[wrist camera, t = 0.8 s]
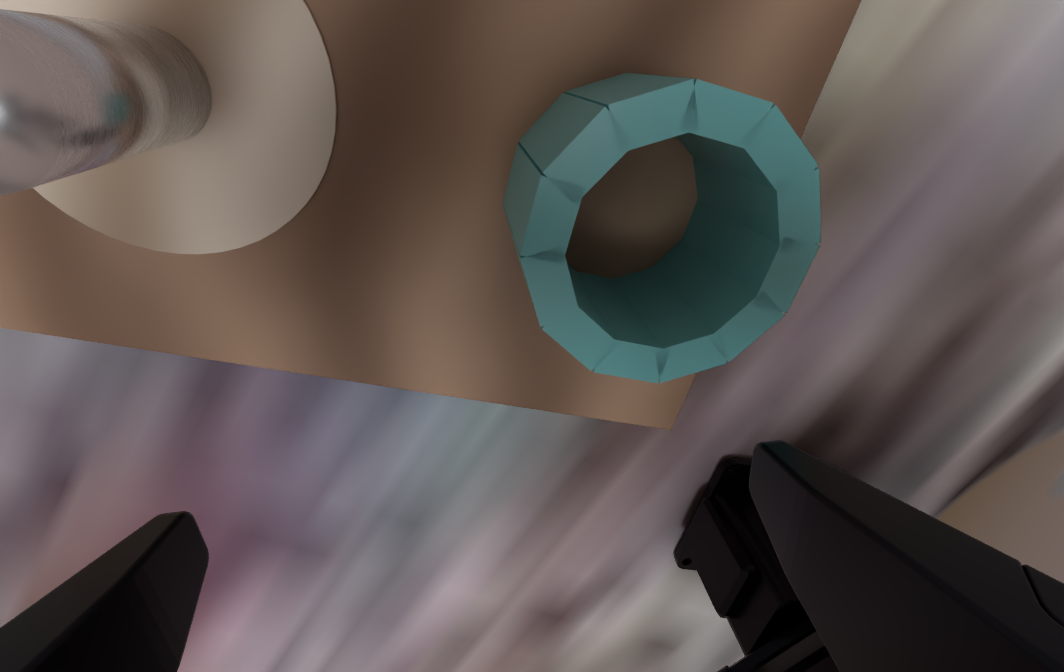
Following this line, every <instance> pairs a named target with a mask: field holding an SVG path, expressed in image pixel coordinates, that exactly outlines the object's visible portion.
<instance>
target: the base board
mask: <svg viewBox="0 0 1064 672" xmlns="http://www.w3.org/2000/svg"><path fill="white" fill-rule="evenodd" d="M860 2H861V0H0V9H4V10H13V11H23V12H32V13H42V14H51V15H60V16H70V17H79V18H88V19H98V20H107V21H117V22H126V23H135V24H144V25H149V26H153V27H156V28H159V29H161V30H163V31H165V32H168V33H169V34H171V35H173V36H174V37H176V38H177V39H178V40H180V41H181V42H182V43H183V44H185V45H186V46H187V47H188V48H189V49H190V50H191V51H192V53H193V54H194V55H195V56H196V58H197V59H198V60H199V62H200V63H201V65H202V67H203V68H204V70H205V73H206V75H207V77H208V80H209V83H210V87H211V93H212V106H211V112H210V115H209V118H208V120H207V122H206V124H205V125H204V127H203V128H202V129H201V130H200V132H198V133H197V134H196V135H195V136H193V137H191V138H190V139H187V140H185V141H182V142H179V143H176V144H172V145H169V146H166V147H163V148H159V149H156V150H153V151H150V152H146V153H143V154H140V155H137V156H133V157H130V158H127V159H124V160H120V161H117V162H114V163H111V164H107V165H104V166H101V167H98V168H95V169H91V170H88V171H85V172H82V173H78V174H75V175H72V176H69V177H65V178H62V179H59V180H56V181H52V182H49V183H46V184H43V185H39V186H36V187H33V188H30V189H26V190H23V191H20V192H16V193H11V194H5V195H0V328H7V329H13V330H20V331H26V332H33V333H40V334H46V335H53V336H59V337H66V338H72V339H79V340H85V341H92V342H98V343H105V344H112V345H118V346H125V347H131V348H138V349H144V350H151V351H157V352H164V353H170V354H177V355H184V356H190V357H197V358H203V359H210V360H216V361H223V362H229V363H236V364H242V365H249V366H256V367H262V368H269V369H275V370H282V371H288V372H295V373H301V374H308V375H314V376H321V377H328V378H334V379H341V380H347V381H354V382H360V383H367V384H373V385H380V386H386V387H393V388H400V389H406V390H413V391H419V392H426V393H432V394H439V395H445V396H452V397H458V398H465V399H472V400H478V401H485V402H491V403H498V404H504V405H511V406H517V407H524V408H530V409H537V410H544V411H550V412H557V413H563V414H570V415H576V416H583V417H589V418H596V419H602V420H609V421H616V422H622V423H629V424H635V425H642V426H648V427H655V428H661V429H668V430H672V427H673V425H674V423H675V421H676V418H677V416H678V414H679V412H680V409H681V407H682V405H683V403H684V400H685V398H686V396H687V394H688V391H689V389H690V387H691V385H692V382H693V380H694V378H695V375H696V373H693V374H690V375H686V376H683V377H680V378H676V379H673V380H670V381H666V382H663V383H660V382H659V381H658V383H652V382H646V381H641V380H635V379H629V378H623V377H617V376H612V375H606V374H600V373H594V372H593V370H592V371H590V370H589V369H588V368H587V367H585V366H584V365H583V364H582V363H581V362H580V361H578V360H577V359H576V358H575V357H574V356H573V355H571V354H570V353H569V352H568V351H567V350H566V349H564V348H563V347H562V346H561V345H560V344H559V343H557V342H556V341H555V340H554V339H553V338H552V337H550V336H549V335H548V334H547V333H546V332H545V331H543V330H542V328H541V327H540V325H539V321H538V318H537V315H536V312H535V309H534V306H533V303H532V299H531V296H530V293H529V290H528V287H527V284H526V280H525V277H524V274H523V271H522V268H521V265H520V262H519V258H518V255H517V252H516V248H515V245H514V241H513V238H512V235H511V231H510V228H509V224H508V221H507V218H506V214H505V211H504V208H503V206H504V205H503V201H504V197H505V192H506V188H507V184H508V180H509V176H510V172H511V167H512V163H513V159H514V155H515V151H516V146H517V143H519V144H521V143H520V142H519V140H520V139H521V138H522V137H523V135H524V134H525V133H526V132H527V131H528V130H529V129H530V128H531V127H532V126H533V125H534V123H535V122H536V121H537V120H538V119H539V118H540V117H541V116H542V115H543V114H544V113H545V111H546V110H547V109H548V108H549V107H550V106H551V105H552V104H553V103H554V102H555V101H556V99H557V98H558V97H559V96H560V95H561V94H562V93H565V91H568V90H571V89H574V88H578V87H581V86H584V85H587V84H591V83H594V82H597V81H601V80H604V79H607V78H610V77H614V76H617V75H620V74H624V73H636V74H648V75H659V76H670V77H682V78H693V79H699V80H702V81H705V82H709V83H712V84H715V85H718V86H721V87H725V88H728V89H731V90H734V91H737V92H741V93H744V94H747V95H750V96H753V97H757V98H760V99H763V100H766V101H769V102H773V104H775V105H777V107H778V108H779V110H780V111H781V113H782V114H783V115H784V117H785V118H786V120H787V121H788V123H789V124H790V126H791V127H792V128H793V130H794V131H795V133H796V134H797V136H798V137H799V138H801V136H802V133H803V131H804V129H805V127H806V124H807V122H808V120H809V118H810V115H811V113H812V111H813V109H814V106H815V104H816V102H817V100H818V97H819V95H820V93H821V90H822V88H823V86H824V84H825V81H826V79H827V77H828V75H829V72H830V70H831V68H832V66H833V63H834V61H835V59H836V57H837V54H838V52H839V50H840V48H841V45H842V43H843V41H844V38H845V36H846V34H847V32H848V29H849V27H850V25H851V23H852V20H853V18H854V16H855V14H856V11H857V9H858V7H859V5H860ZM697 199H698V195H697V187H696V179H695V171H694V163H693V156H692V155H691V154H690V152H689V151H688V150H687V149H686V148H685V146H684V145H683V144H682V143H681V141H680V140H679V139H678V138H677V137H676V136H675V137H672V138H669V139H665V140H662V141H659V142H655V143H652V144H649V145H645V146H642V147H639V148H635V149H632V150H629V151H627V152H626V153H625V154H624V155H623V156H622V157H621V158H620V159H619V160H618V161H617V162H616V163H615V164H614V165H613V166H612V167H611V168H610V169H609V171H608V172H607V173H606V174H605V175H604V176H603V177H602V178H601V179H600V180H599V181H598V182H597V183H596V184H595V185H594V186H593V187H592V188H591V189H590V190H589V191H588V192H587V193H586V194H585V195H584V196H583V197H582V199H581V203H580V206H579V210H578V213H577V216H576V220H575V223H574V226H573V230H572V233H571V236H570V240H569V243H568V246H567V250H566V253H565V257H566V261H567V263H568V264H569V265H570V266H571V267H572V268H573V269H574V270H575V271H579V272H584V273H589V274H593V275H598V276H603V277H607V278H612V279H614V278H617V277H621V276H624V275H627V274H631V273H634V272H637V271H641V270H644V269H647V268H651V267H652V266H653V265H655V264H656V263H657V262H658V261H659V260H660V259H661V258H662V257H663V256H664V255H665V254H666V253H667V252H668V251H670V250H671V249H672V248H673V247H674V246H675V245H676V244H677V243H678V242H679V241H680V240H681V239H682V238H683V236H684V233H685V231H686V228H687V225H688V223H689V220H690V218H691V215H692V212H693V210H694V207H695V205H696V202H697Z"/></svg>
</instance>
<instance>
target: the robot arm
mask: <svg viewBox="0 0 1064 672" xmlns="http://www.w3.org/2000/svg"><path fill="white" fill-rule="evenodd" d="M732 468H733V470H731V471H729V470H730V469H732ZM674 558H675V561H676V563H677V566H678V567H679V568H681V569H688V570H697V572H698V574H699V576H700V578H701V580H702V582H703V584H704V587H705V589H706V591H707V593H708V595H709V597H710V599H711V601H712V604H713V606H714V608H715V610H716V612H717V613H718V615H719V616H720V617H722V618H727V620H728V622H729V624H730V626H731V628H732V630H733V632H734V634H735V636H736V638H737V640H738V642H739V644H740V647H741V649H742V651H743V653H744V655H745V657H743V658H742V659H740V660H739V661H737V662H736V663H734V664H733V665H731V666H730V667H729V666H727V665H726V666H725V667H723V668H722V669H720V670H719V671H717V672H1064V583H1062V582H1060V581H1058V580H1056V579H1054V578H1052V577H1050V576H1048V575H1046V574H1044V573H1042V572H1040V571H1038V570H1036V569H1034V568H1032V567H1030V566H1028V565H1021V563H1020V562H1019V561H1018V560H1016V559H1014V558H1012V557H1010V556H1008V555H1006V554H1004V553H1002V552H1000V551H998V550H996V549H994V548H993V547H991V546H989V545H987V544H985V543H983V542H981V541H979V540H977V539H975V538H973V537H971V536H969V535H967V534H965V533H963V532H961V531H959V530H957V529H955V528H953V527H951V526H949V525H947V524H945V523H943V522H941V521H939V520H938V519H936V518H934V517H932V516H930V515H928V514H926V513H924V512H922V511H920V510H918V509H916V508H914V507H912V506H910V505H908V504H906V503H904V502H902V501H900V500H898V499H896V498H894V497H892V496H890V495H888V494H886V493H884V492H882V491H880V490H879V489H877V488H875V487H873V486H871V485H869V484H867V483H865V482H863V481H861V480H859V479H857V478H855V477H853V476H851V475H849V474H847V473H845V472H843V471H841V470H839V469H837V468H835V467H833V466H831V465H829V464H827V463H825V462H823V461H821V460H820V459H818V458H816V457H814V456H812V455H810V454H808V453H806V452H804V451H802V450H800V449H798V448H796V447H794V446H792V445H790V444H788V443H786V442H784V441H780V440H777V441H768V442H760V443H758V444H757V445H756V446H755V448H754V451H753V458H752V460H746V459H739V458H728V459H725V460H724V461H722V462H721V464H720V465H719V467H718V469H717V471H716V473H715V475H714V477H713V479H712V481H711V483H710V485H709V487H708V489H707V491H706V493H705V495H704V497H703V499H702V501H701V503H700V505H699V507H698V509H697V511H696V513H695V515H694V517H693V519H692V521H691V523H690V525H689V527H688V529H687V531H686V533H685V535H684V537H683V539H682V541H681V543H680V545H679V547H678V549H677V551H676V553H675V555H674ZM208 561H209V553H208V549H207V546H206V543H205V541H204V539H203V537H202V534H201V532H200V530H199V527H198V525H197V523H196V521H195V518H194V517H193V515H192V514H191V513H189V512H186V511H180V512H172V513H164V514H160V515H158V516H156V517H154V518H153V519H152V520H150V521H149V522H147V523H146V524H145V525H143V526H142V527H140V528H139V529H138V530H136V531H135V532H133V533H132V534H131V535H129V536H128V537H127V538H125V539H124V540H122V541H121V542H120V543H118V544H117V545H115V546H114V547H113V548H111V549H110V550H108V551H107V552H106V553H104V554H103V555H101V556H100V557H99V558H97V559H96V560H94V561H93V562H92V563H90V564H89V565H87V566H86V567H85V568H83V569H82V570H80V571H79V572H78V573H76V574H75V575H73V576H72V577H71V578H69V579H68V580H66V581H65V582H64V583H62V584H61V585H60V586H58V587H57V588H55V589H54V590H53V591H51V592H50V593H48V594H47V595H46V596H44V597H43V598H41V599H40V600H39V601H37V602H36V603H34V604H33V605H32V606H30V607H29V608H27V609H26V610H25V611H23V612H22V613H20V614H19V615H18V616H16V617H15V618H13V619H12V620H11V621H9V622H8V623H6V624H5V625H4V626H2V627H1V628H0V672H177V670H178V668H179V665H180V662H181V659H182V655H183V652H184V649H185V646H186V642H187V638H188V635H189V631H190V628H191V624H192V621H193V617H194V613H195V610H196V606H197V603H198V599H199V595H200V592H201V588H202V585H203V581H204V578H205V574H206V570H207V567H208Z"/></svg>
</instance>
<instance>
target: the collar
mask: <svg viewBox="0 0 1064 672" xmlns="http://www.w3.org/2000/svg"><path fill="white" fill-rule="evenodd" d="M675 136H676V137H677V138H678V139H679V140H680V141H681V143H682V144H683V145H684V146H685V148H686V149H687V150H688V151H689V152H690V154H691V155H692V156H693V163H694V171H695V179H696V187H697V195H698V199H697V202H696V205H695V207H694V210H693V212H692V215H691V218H690V220H689V223H688V225H687V228H686V231H685V233H684V236H683V238H682V239H681V240H680V241H679V242H678V243H677V244H676V245H675V246H674V247H673V248H672V249H671V250H670V251H668V252H667V253H666V254H665V255H664V256H663V257H662V258H661V259H660V260H659V261H658V262H657V263H656V264H655V265H653V266H652V267H651V268H647V269H644V270H641V271H637V272H634V273H631V274H627V275H624V276H621V277H617V278H614V279H612V278H607V277H603V276H598V275H593V274H589V273H584V272H579V271H575V270H574V269H573V268H572V267H571V266H570V265H569V264H568V263H567V261H566V257H565V253H566V250H567V246H568V243H569V240H570V236H571V233H572V230H573V226H574V223H575V220H576V216H577V213H578V210H579V206H580V203H581V199H582V197H583V196H584V195H585V194H586V193H587V192H588V191H589V190H590V189H591V188H592V187H593V186H594V185H595V184H596V183H597V182H598V181H599V180H600V179H601V178H602V177H603V176H604V175H605V174H606V173H607V172H608V171H609V169H610V168H611V167H612V166H613V165H614V164H615V163H616V162H617V161H618V160H619V159H620V158H621V157H622V156H623V155H624V154H625V153H626V152H627V151H629V150H632V149H635V148H639V147H642V146H645V145H649V144H652V143H655V142H659V141H662V140H665V139H669V138H672V137H675ZM519 142H520V143H521V144H519V143H517V146H516V151H515V155H514V159H513V163H512V167H511V172H510V176H509V180H508V184H507V188H506V192H505V197H504V201H503V205H504V206H503V208H504V211H505V214H506V218H507V221H508V224H509V228H510V231H511V235H512V238H513V241H514V245H515V248H516V252H517V255H518V258H519V262H520V265H521V268H522V271H523V274H524V277H525V280H526V284H527V287H528V290H529V293H530V296H531V299H532V303H533V306H534V309H535V312H536V315H537V318H538V321H539V325H540V327H541V328H542V330H543V331H545V332H546V333H547V334H548V335H549V336H550V337H552V338H553V339H554V340H555V341H556V342H557V343H559V344H560V345H561V346H562V347H563V348H564V349H566V350H567V351H568V352H569V353H570V354H571V355H573V356H574V357H575V358H576V359H577V360H578V361H580V362H581V363H582V364H583V365H584V366H585V367H587V368H588V369H589V370H590V371H592V370H593V372H594V373H600V374H606V375H612V376H617V377H623V378H629V379H635V380H641V381H646V382H652V383H658V381H659V382H660V383H663V382H666V381H670V380H673V379H676V378H680V377H683V376H686V375H690V374H693V373H697V372H700V371H703V370H707V369H710V368H713V367H717V366H720V365H723V364H727V363H726V360H727V361H728V362H730V361H731V360H732V359H733V358H735V357H736V356H737V355H738V354H739V353H741V352H742V351H743V350H744V349H745V348H747V347H748V346H749V345H750V344H751V343H753V342H754V341H755V340H756V339H757V338H758V337H760V336H761V335H762V334H763V333H764V332H766V331H767V330H768V329H769V328H770V327H772V326H773V325H774V324H775V323H776V322H778V321H779V320H780V319H781V318H782V317H783V316H785V315H784V314H783V312H785V313H787V311H788V309H789V307H790V305H791V303H792V301H793V299H794V297H795V295H796V293H797V291H798V289H799V287H800V285H801V283H802V281H803V279H804V277H805V275H806V273H807V271H808V269H809V267H810V265H811V263H812V261H813V259H814V257H815V255H816V253H817V251H818V249H819V247H820V245H818V243H821V232H820V177H819V168H816V167H817V166H818V164H817V163H816V161H815V160H814V158H813V157H812V156H811V154H810V153H809V151H808V150H807V148H806V147H805V146H804V144H803V143H802V141H801V140H800V138H799V137H798V136H797V134H796V133H795V131H794V130H793V128H792V127H791V126H790V124H789V123H788V121H787V120H786V118H785V117H784V115H783V114H782V113H781V111H780V110H779V108H778V107H777V105H775V104H773V102H769V101H766V100H763V99H760V98H757V97H753V96H750V95H747V94H744V93H741V92H737V91H734V90H731V89H728V88H725V87H721V86H718V85H715V84H712V83H709V82H705V81H702V80H699V79H693V78H682V77H670V76H659V75H648V74H636V73H624V74H620V75H617V76H614V77H610V78H607V79H604V80H601V81H597V82H594V83H591V84H587V85H584V86H581V87H578V88H574V89H571V90H568V91H565V93H562V94H561V95H560V96H559V97H558V98H557V99H556V101H555V102H554V103H553V104H552V105H551V106H550V107H549V108H548V109H547V110H546V111H545V113H544V114H543V115H542V116H541V117H540V118H539V119H538V120H537V121H536V122H535V123H534V125H533V126H532V127H531V128H530V129H529V130H528V131H527V132H526V133H525V134H524V135H523V137H522V138H521V139H520V140H519Z"/></svg>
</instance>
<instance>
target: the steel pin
mask: <svg viewBox="0 0 1064 672" xmlns="http://www.w3.org/2000/svg"><path fill="white" fill-rule="evenodd" d="M211 106H212V93H211V87H210V83H209V80H208V77H207V75H206V73H205V70H204V68H203V67H202V65H201V63H200V62H199V60H198V59H197V58H196V56H195V55H194V54H193V53H192V51H191V50H190V49H189V48H188V47H187V46H186V45H185V44H183V43H182V42H181V41H180V40H178V39H177V38H176V37H174V36H173V35H171V34H169V33H168V32H165V31H163V30H161V29H159V28H156V27H153V26H149V25H144V24H135V23H126V22H117V21H107V20H98V19H88V18H79V17H70V16H60V15H51V14H42V13H32V12H23V11H13V10H4V9H0V195H5V194H11V193H16V192H20V191H23V190H26V189H30V188H33V187H36V186H39V185H43V184H46V183H49V182H52V181H56V180H59V179H62V178H65V177H69V176H72V175H75V174H78V173H82V172H85V171H88V170H91V169H95V168H98V167H101V166H104V165H107V164H111V163H114V162H117V161H120V160H124V159H127V158H130V157H133V156H137V155H140V154H143V153H146V152H150V151H153V150H156V149H159V148H163V147H166V146H169V145H172V144H176V143H179V142H182V141H185V140H187V139H190V138H191V137H193V136H195V135H196V134H197V133H198V132H200V130H201V129H202V128H203V127H204V125H205V124H206V122H207V120H208V118H209V115H210V112H211Z"/></svg>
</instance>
